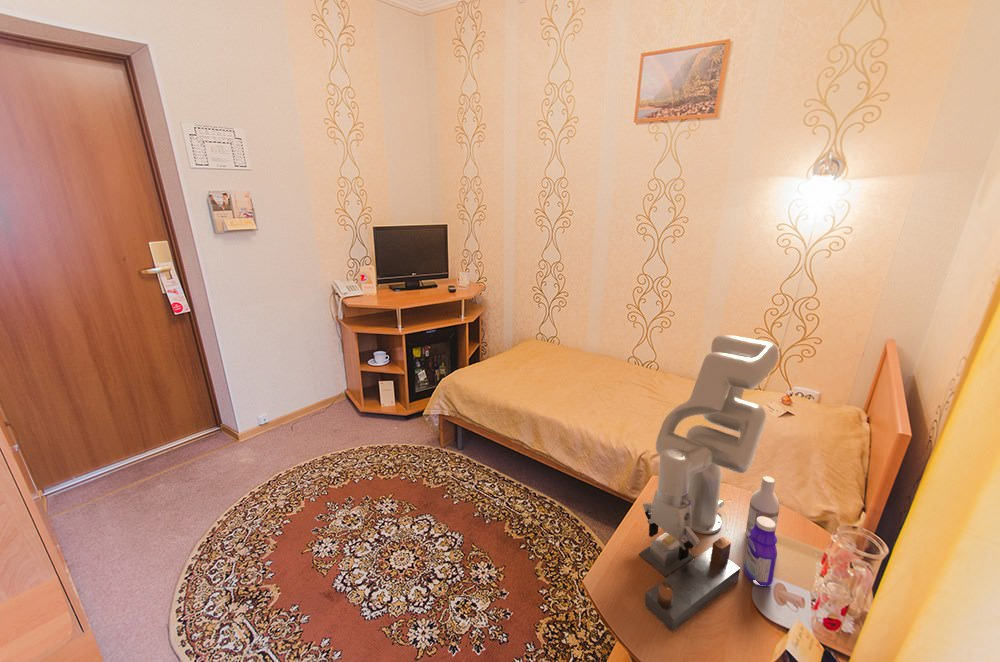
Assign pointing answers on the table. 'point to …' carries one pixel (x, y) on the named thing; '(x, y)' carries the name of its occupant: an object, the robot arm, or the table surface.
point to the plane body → (693, 586)
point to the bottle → (761, 552)
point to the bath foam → (763, 504)
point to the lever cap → (665, 549)
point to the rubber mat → (669, 568)
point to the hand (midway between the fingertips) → (667, 545)
